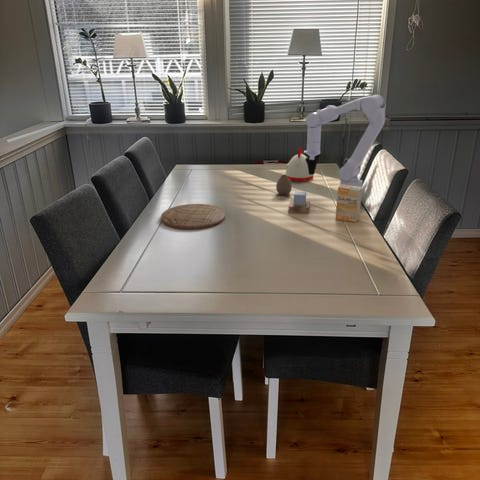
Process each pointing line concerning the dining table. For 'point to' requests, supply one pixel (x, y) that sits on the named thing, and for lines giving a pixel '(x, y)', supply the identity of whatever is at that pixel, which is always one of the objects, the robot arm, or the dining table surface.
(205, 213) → the trivet
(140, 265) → the dining table surface
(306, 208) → the base
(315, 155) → the robot arm
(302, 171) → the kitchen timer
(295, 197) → the cube
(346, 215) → the supplement box
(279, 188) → the vase
